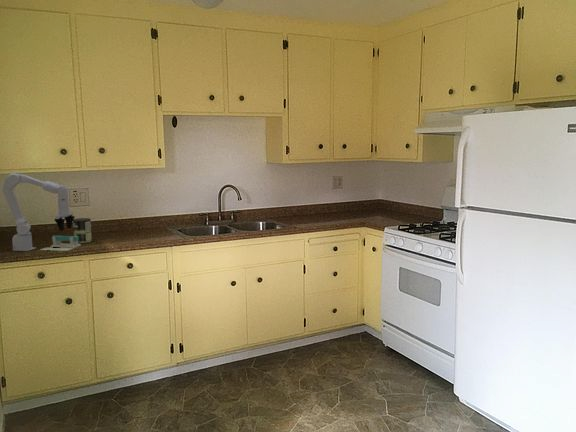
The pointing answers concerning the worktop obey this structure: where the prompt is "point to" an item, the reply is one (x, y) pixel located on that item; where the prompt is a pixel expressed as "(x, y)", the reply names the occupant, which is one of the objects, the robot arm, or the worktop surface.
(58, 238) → the rail
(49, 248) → the mat
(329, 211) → the worktop surface
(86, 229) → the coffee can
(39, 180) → the robot arm
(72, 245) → the stand
